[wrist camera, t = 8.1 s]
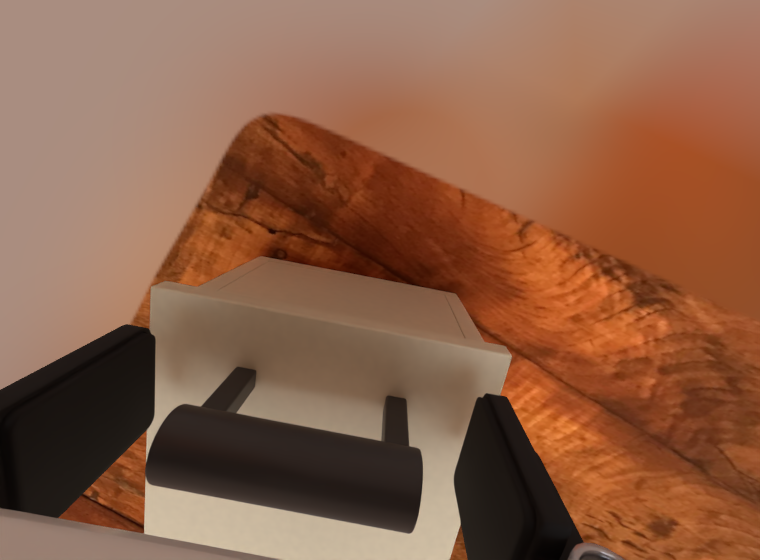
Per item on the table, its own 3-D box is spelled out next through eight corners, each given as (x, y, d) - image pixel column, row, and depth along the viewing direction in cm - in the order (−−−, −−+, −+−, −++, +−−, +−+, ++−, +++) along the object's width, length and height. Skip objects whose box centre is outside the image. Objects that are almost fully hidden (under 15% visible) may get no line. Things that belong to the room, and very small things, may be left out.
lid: (165, 280, 12) (7, 341, 7) (505, 345, 12) (580, 450, 7) (154, 578, 15) (41, 759, 10) (420, 628, 15) (432, 831, 10)
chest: (259, 255, 21) (164, 302, 12) (456, 293, 21) (499, 366, 12) (241, 438, 24) (154, 577, 15) (411, 470, 24) (420, 626, 15)
